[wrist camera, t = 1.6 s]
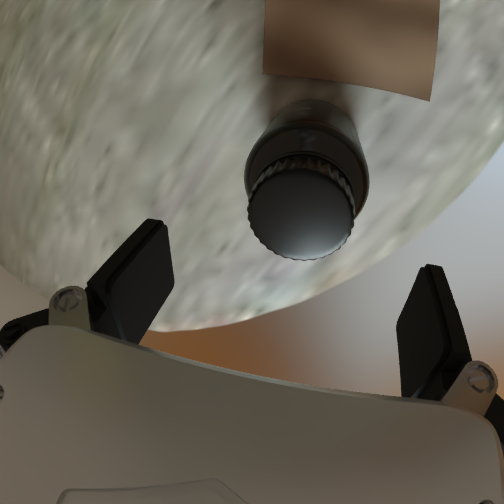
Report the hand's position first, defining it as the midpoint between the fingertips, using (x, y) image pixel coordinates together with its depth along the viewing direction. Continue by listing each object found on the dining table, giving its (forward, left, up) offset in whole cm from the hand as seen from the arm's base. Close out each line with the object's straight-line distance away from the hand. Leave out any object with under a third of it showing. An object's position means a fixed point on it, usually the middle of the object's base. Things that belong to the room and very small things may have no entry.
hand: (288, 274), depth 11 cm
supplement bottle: (-1, 0, -16) cm, 16 cm away
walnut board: (-13, +2, -15) cm, 20 cm away
